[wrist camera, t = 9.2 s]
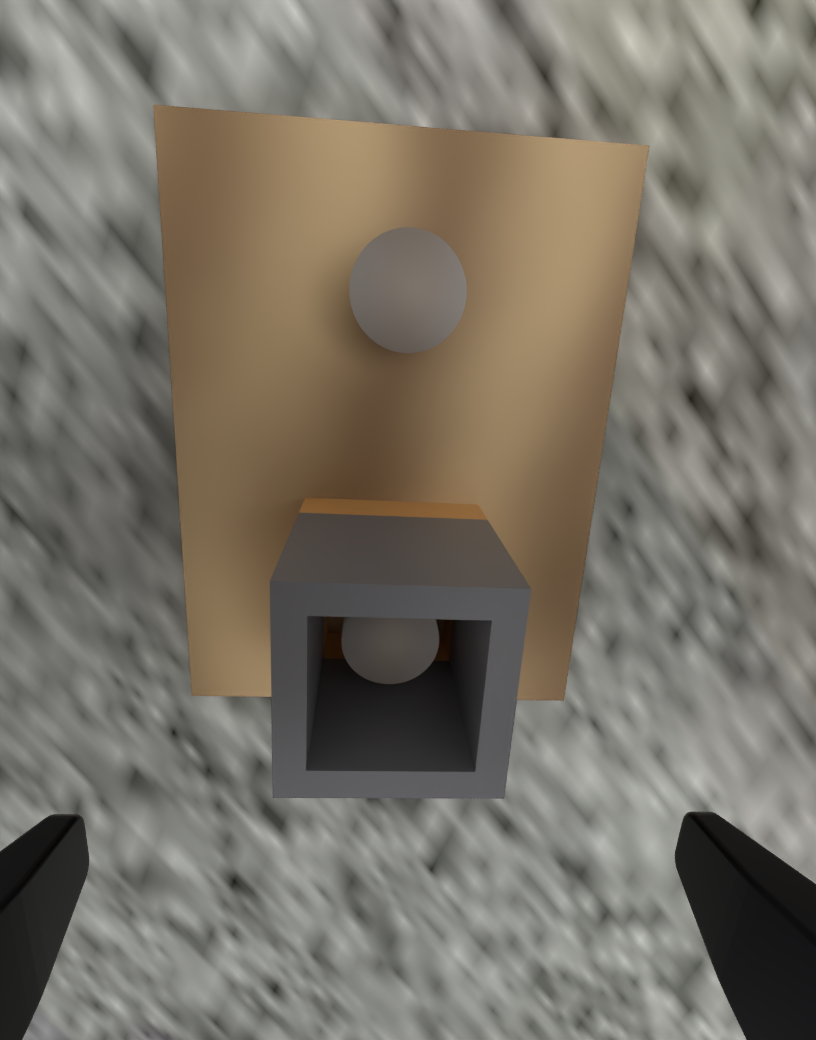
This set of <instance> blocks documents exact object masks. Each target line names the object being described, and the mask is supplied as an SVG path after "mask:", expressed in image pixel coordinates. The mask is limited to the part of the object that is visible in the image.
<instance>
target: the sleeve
mask: <svg viewBox="0 0 816 1040" xmlns="http://www.w3.org/2000/svg"><path fill="white" fill-rule="evenodd" d="M530 595H531V588H530V586H529V584H528V583H527V581H526V580H525V578H524V577H523V575H522V573H521V572H520V570H519V569H518V567H517V565H516V564H515V562H514V561H513V559H512V558H511V556H510V554H509V553H508V551H507V550H506V548H505V546H504V545H503V543H502V542H501V540H500V539H499V537H498V535H497V534H496V532H495V531H494V529H493V527H492V526H491V524H490V523H489V521H488V519H487V518H486V516H485V515H484V513H483V512H482V510H481V508H480V507H479V505H478V504H454V503H429V502H404V501H379V500H354V499H329V498H305V500H304V502H303V504H302V507H301V509H300V511H299V514H298V516H297V518H296V521H295V523H294V525H293V528H292V530H291V532H290V535H289V537H288V539H287V542H286V544H285V546H284V549H283V551H282V553H281V556H280V558H279V560H278V563H277V565H276V567H275V570H274V572H273V575H272V577H271V579H270V640H271V710H272V780H273V798H496V799H504V794H505V787H506V779H507V771H508V764H509V756H510V748H511V741H512V733H513V725H514V718H515V710H516V703H517V695H518V687H519V680H520V672H521V664H522V657H523V649H524V641H525V634H526V626H527V618H528V611H529V603H530ZM328 616H331V617H370V618H409V619H445V620H444V632H443V636H441V635H439V647H438V651H437V654H436V656H435V659H434V660H433V662H432V663H431V665H430V666H429V667H428V668H427V669H426V670H425V671H424V672H423V673H422V674H420V675H419V676H417V677H415V678H414V679H411V680H409V681H406V682H403V683H398V684H381V683H376V682H372V681H370V680H367V679H365V678H363V677H362V676H360V675H359V674H357V673H356V672H355V671H354V670H353V669H352V668H351V667H350V665H349V664H348V663H347V661H346V659H345V657H344V654H343V651H342V644H341V639H342V633H328Z"/></svg>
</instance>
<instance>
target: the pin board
mask: <svg viewBox="0 0 816 1040" xmlns="http://www.w3.org/2000/svg"><path fill="white" fill-rule="evenodd" d="M153 107H154V123H155V138H156V153H157V169H158V184H159V200H160V215H161V230H162V246H163V261H164V276H165V292H166V307H167V323H168V338H169V353H170V369H171V384H172V400H173V415H174V430H175V446H176V461H177V477H178V492H179V507H180V523H181V538H182V553H183V569H184V584H185V600H186V615H187V630H188V646H189V661H190V677H191V692H192V696H256V697H271V640H270V579H271V577H272V575H273V572H274V570H275V567H276V565H277V563H278V560H279V558H280V556H281V553H282V551H283V549H284V546H285V544H286V542H287V539H288V537H289V535H290V532H291V530H292V528H293V525H294V523H295V521H296V518H297V516H298V514H299V511H300V509H301V507H302V504H303V502H304V500H305V498H329V499H354V500H379V501H404V502H429V503H454V504H478V505H479V507H480V508H481V510H482V512H483V513H484V515H485V516H486V518H487V519H488V521H489V523H490V524H491V526H492V527H493V529H494V531H495V532H496V534H497V535H498V537H499V539H500V540H501V542H502V543H503V545H504V546H505V548H506V550H507V551H508V553H509V554H510V556H511V558H512V559H513V561H514V562H515V564H516V565H517V567H518V569H519V570H520V572H521V573H522V575H523V577H524V578H525V580H526V581H527V583H528V584H529V586H530V588H531V595H530V603H529V611H528V618H527V626H526V634H525V641H524V649H523V657H522V664H521V672H520V680H519V687H518V695H517V700H564V695H565V689H566V682H567V676H568V669H569V663H570V656H571V650H572V643H573V637H574V630H575V624H576V617H577V611H578V605H579V598H580V592H581V585H582V579H583V572H584V566H585V559H586V553H587V546H588V540H589V533H590V527H591V520H592V514H593V508H594V501H595V495H596V488H597V482H598V475H599V469H600V462H601V456H602V449H603V443H604V436H605V430H606V423H607V417H608V411H609V404H610V398H611V391H612V385H613V378H614V372H615V365H616V359H617V352H618V346H619V339H620V333H621V326H622V320H623V314H624V307H625V301H626V294H627V288H628V281H629V275H630V268H631V262H632V255H633V249H634V242H635V236H636V229H637V223H638V217H639V210H640V204H641V197H642V191H643V184H644V178H645V171H646V165H647V158H648V152H649V146H646V145H634V144H621V143H609V142H597V141H585V140H573V139H561V138H549V137H537V136H525V135H513V134H501V133H489V132H477V131H465V130H452V129H440V128H428V127H416V126H404V125H392V124H380V123H368V122H356V121H344V120H332V119H320V118H308V117H296V116H283V115H271V114H259V113H247V112H235V111H223V110H211V109H199V108H187V107H175V106H163V105H153ZM444 620H445V619H409V618H370V617H331V616H328V633H342V639H341V644H342V651H343V654H344V657H345V659H346V661H347V663H348V664H349V665H350V667H351V668H352V669H353V670H354V671H355V672H356V673H357V674H359V675H360V676H362V677H363V678H365V679H367V680H370V681H372V682H376V683H381V684H398V683H403V682H406V681H409V680H411V679H414V678H415V677H417V676H419V675H420V674H422V673H423V672H424V671H425V670H426V669H427V668H428V667H429V666H430V665H431V663H432V662H433V660H434V659H435V656H436V654H437V651H438V647H439V635H441V636H443V632H444Z"/></svg>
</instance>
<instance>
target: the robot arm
mask: <svg viewBox="0 0 816 1040" xmlns="http://www.w3.org/2000/svg"><path fill="white" fill-rule="evenodd" d="M675 864H676V868H677V871H678V874H679V877H680V879H681V882H682V885H683V887H684V890H685V893H686V895H687V898H688V901H689V903H690V906H691V909H692V911H693V914H694V917H695V919H696V922H697V925H698V927H699V930H700V933H701V935H702V938H703V941H704V943H705V946H706V949H707V951H708V954H709V957H710V959H711V962H712V965H713V967H714V969H715V972H716V974H717V977H718V979H719V982H720V984H721V986H722V988H723V991H724V993H725V995H726V997H727V999H728V1002H729V1004H730V1006H731V1008H732V1010H733V1012H734V1014H735V1016H736V1018H737V1021H738V1023H739V1025H740V1027H741V1029H742V1031H743V1033H744V1035H745V1037H746V1039H747V1040H816V884H815V883H813V882H812V881H811V880H809V879H808V878H806V877H805V876H804V875H802V874H801V873H799V872H798V871H797V870H795V869H794V868H792V867H791V866H789V865H788V864H787V863H785V862H784V861H782V860H781V859H780V858H778V857H777V856H775V855H774V854H773V853H771V852H770V851H768V850H767V849H766V848H764V847H763V846H761V845H760V844H758V843H757V842H756V841H754V840H753V839H751V838H750V837H749V836H747V835H746V834H744V833H743V832H742V831H740V830H739V829H737V828H736V827H734V826H733V825H732V824H730V823H729V822H727V821H726V820H725V819H723V818H722V817H720V816H719V815H717V814H716V813H713V812H688V813H687V814H686V815H685V816H684V818H683V821H682V825H681V829H680V833H679V838H678V842H677V846H676V850H675ZM88 867H89V852H88V845H87V838H86V831H85V824H84V820H83V818H82V816H80V815H78V814H54V815H50V816H48V817H47V818H45V819H43V820H42V821H41V822H39V823H38V824H37V825H35V826H34V827H33V828H31V829H30V830H29V831H27V832H26V833H25V834H23V835H22V836H20V837H19V838H18V839H16V840H15V841H14V842H12V843H11V844H10V845H8V846H7V847H6V848H4V849H3V850H1V851H0V1040H22V1039H23V1037H24V1035H25V1033H26V1030H27V1028H28V1026H29V1024H30V1022H31V1020H32V1018H33V1015H34V1013H35V1011H36V1009H37V1006H38V1004H39V1002H40V1000H41V997H42V995H43V992H44V990H45V987H46V985H47V982H48V979H49V977H50V974H51V971H52V969H53V966H54V963H55V961H56V958H57V955H58V952H59V950H60V947H61V944H62V942H63V939H64V936H65V933H66V931H67V928H68V925H69V923H70V920H71V917H72V914H73V912H74V909H75V906H76V904H77V901H78V898H79V895H80V893H81V890H82V887H83V885H84V882H85V879H86V876H87V872H88Z"/></svg>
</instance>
